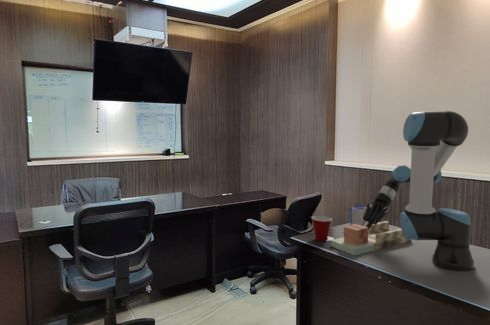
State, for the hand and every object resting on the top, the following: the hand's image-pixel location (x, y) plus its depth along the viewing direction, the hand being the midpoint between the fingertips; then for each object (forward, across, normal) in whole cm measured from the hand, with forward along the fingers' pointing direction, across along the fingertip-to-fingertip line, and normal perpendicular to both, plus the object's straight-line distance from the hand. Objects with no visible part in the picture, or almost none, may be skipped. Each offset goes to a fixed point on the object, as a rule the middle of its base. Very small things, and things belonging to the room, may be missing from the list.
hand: (361, 233), depth 172 cm
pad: (+9, -1, +1) cm, 9 cm away
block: (+6, -1, +2) cm, 6 cm away
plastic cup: (+12, +18, +3) cm, 22 cm away
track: (-5, 0, -13) cm, 14 cm away
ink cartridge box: (-11, +23, -20) cm, 32 cm away
